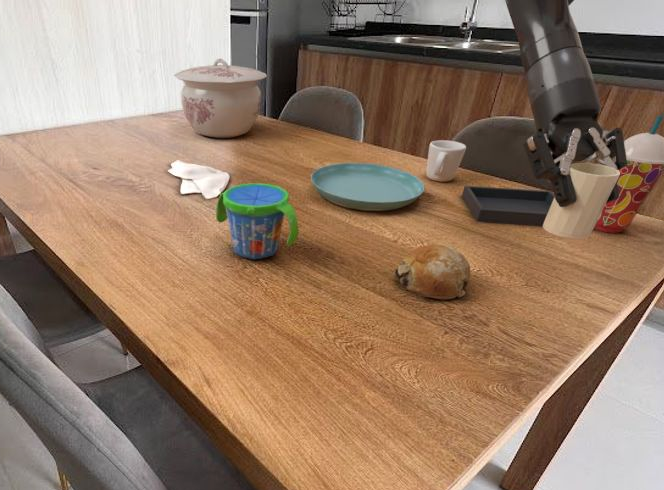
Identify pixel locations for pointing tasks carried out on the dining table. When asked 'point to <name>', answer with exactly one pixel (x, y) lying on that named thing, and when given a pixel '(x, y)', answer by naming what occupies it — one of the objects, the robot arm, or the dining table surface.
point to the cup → (444, 160)
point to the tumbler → (582, 201)
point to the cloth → (200, 179)
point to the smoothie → (634, 179)
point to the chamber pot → (221, 98)
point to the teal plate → (366, 186)
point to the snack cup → (256, 218)
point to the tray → (508, 205)
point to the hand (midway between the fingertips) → (589, 202)
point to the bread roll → (434, 272)
